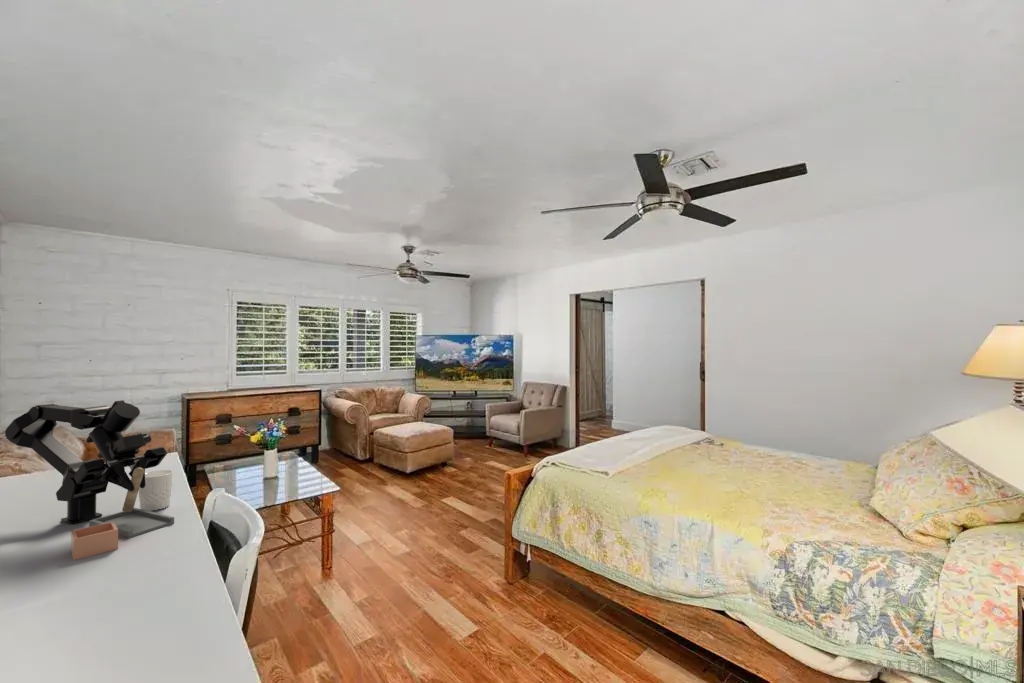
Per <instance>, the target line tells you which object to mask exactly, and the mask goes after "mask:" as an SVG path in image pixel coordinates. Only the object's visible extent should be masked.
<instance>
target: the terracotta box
mask: <svg viewBox="0 0 1024 683" xmlns="http://www.w3.org/2000/svg"><path fill="white" fill-rule="evenodd" d="M70 532H71V533H70V535H71V536H70V552H71V556H72V559H73V561H75V560H76V561H77V560H80V559H84V558H88V557H91V556H95V555H99V554H103V553H107V552H111V551H115V550H118V549H119V536H118V528H117V526H116V525H115V523H114V521H113V522H109V523H104V524H100V525H95V526H91V527H89V526H87V527H82V528H77V529H73V530H70Z"/></svg>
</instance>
